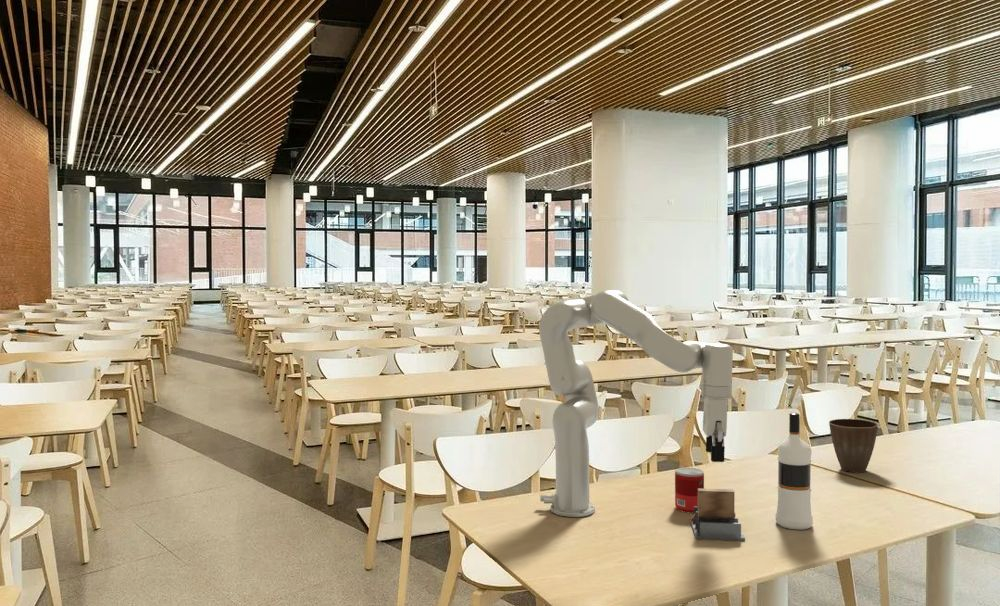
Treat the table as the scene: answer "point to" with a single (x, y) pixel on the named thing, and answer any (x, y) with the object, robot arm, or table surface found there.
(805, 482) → the vodka
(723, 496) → the board
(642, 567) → the table surface
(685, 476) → the canned food
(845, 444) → the plant pot
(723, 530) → the rack
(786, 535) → the table surface
